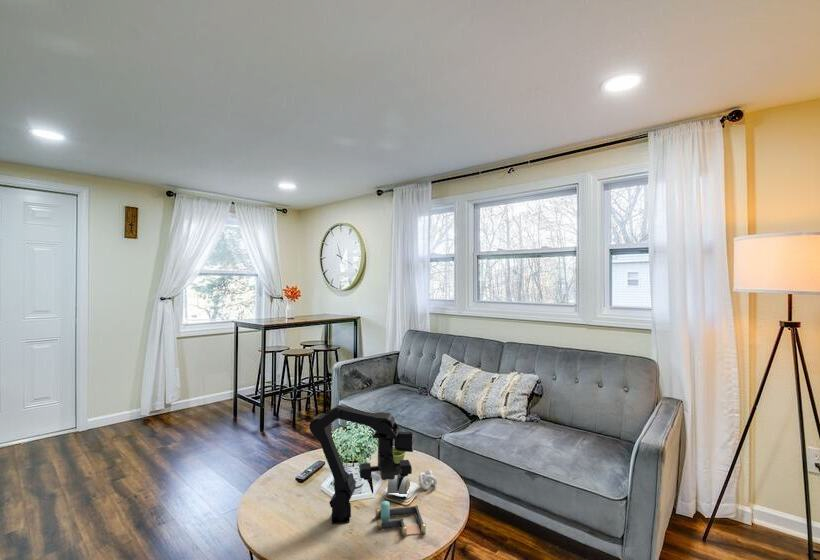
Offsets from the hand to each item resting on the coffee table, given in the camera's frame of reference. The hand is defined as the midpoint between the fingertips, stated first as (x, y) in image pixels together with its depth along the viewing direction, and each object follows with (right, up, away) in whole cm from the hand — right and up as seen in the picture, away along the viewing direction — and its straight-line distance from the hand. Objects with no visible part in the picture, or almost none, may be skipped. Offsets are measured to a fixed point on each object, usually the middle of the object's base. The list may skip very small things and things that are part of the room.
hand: (385, 491), depth 142 cm
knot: (+16, -11, +25) cm, 32 cm away
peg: (0, -11, 0) cm, 11 cm away
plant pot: (+3, -11, +39) cm, 40 cm away
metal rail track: (+5, -11, -1) cm, 13 cm away
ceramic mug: (+5, -11, +19) cm, 23 cm away
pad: (+10, -11, -4) cm, 16 cm away
